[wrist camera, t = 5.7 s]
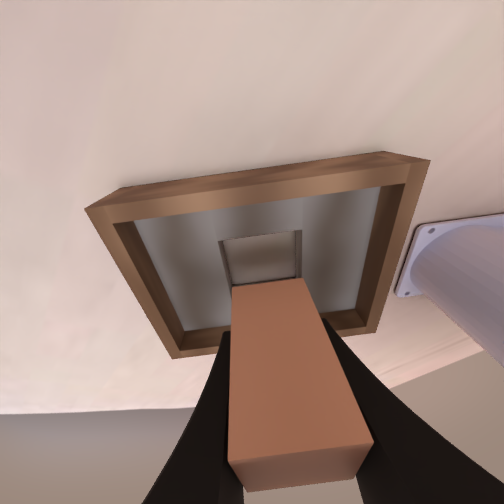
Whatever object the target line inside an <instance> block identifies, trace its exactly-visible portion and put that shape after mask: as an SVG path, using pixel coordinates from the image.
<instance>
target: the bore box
mask: <svg viewBox="0 0 504 504" xmlns="http://www.w3.org/2000/svg"><path fill="white" fill-rule="evenodd" d="M430 161H431V160H426V159H421V158H416V157H411V156H406V155H401V154H396V153H391V152H386V151H381V152H373V153H366V154H359V155H352V156H345V157H338V158H331V159H324V160H316V161H309V162H302V163H295V164H288V165H281V166H274V167H267V168H259V169H252V170H245V171H238V172H231V173H224V174H217V175H210V176H202V177H195V178H188V179H181V180H174V181H167V182H160V183H153V184H146V185H138V186H131V187H124V188H120V189H118V190H116V191H114V192H113V193H111V194H109V195H107V196H106V197H104V198H102V199H100V200H99V201H97V202H95V203H93V204H91V205H90V206H88V207H86V208H84V210H85V211H86V213H87V215H88V216H89V218H90V220H91V222H92V223H93V225H94V227H95V228H96V230H97V232H98V234H99V235H100V237H101V239H102V240H103V242H104V244H105V246H106V247H107V249H108V251H109V252H110V254H111V256H112V257H113V259H114V261H115V263H116V264H117V266H118V268H119V269H120V271H121V273H122V275H123V276H124V278H125V280H126V281H127V283H128V285H129V287H130V288H131V290H132V292H133V293H134V295H135V297H136V298H137V300H138V302H139V304H140V305H141V307H142V309H143V310H144V312H145V314H146V316H147V317H148V319H149V321H150V322H151V324H152V326H153V328H154V329H155V331H156V333H157V334H158V336H159V338H160V339H161V341H162V343H163V345H164V346H165V348H166V350H167V351H168V353H169V355H170V357H171V358H172V359H178V358H186V357H193V356H201V355H209V354H216V353H217V352H218V349H219V345H220V342H221V338H222V333H223V332H224V331H231V308H232V287H239V286H246V285H253V284H261V283H268V282H275V281H282V280H290V279H297V278H303V279H304V281H305V283H306V286H307V288H308V290H309V293H310V295H311V297H312V300H313V302H314V304H315V306H316V309H317V311H318V313H319V316H320V318H325V319H327V321H328V322H329V323H330V325H331V326H332V327H333V329H334V330H335V331H336V332H337V334H338V335H339V336H340V337H346V336H354V335H361V334H369V333H376V330H377V327H378V324H379V320H380V317H381V314H382V311H383V308H384V305H385V302H386V299H387V295H388V292H389V289H390V286H391V283H392V280H393V277H394V274H395V270H396V267H397V264H398V261H399V258H400V255H401V252H402V249H403V245H404V242H405V239H406V236H407V233H408V230H409V227H410V224H411V220H412V217H413V214H414V211H415V208H416V205H417V202H418V199H419V195H420V192H421V189H422V186H423V183H424V180H425V177H426V174H427V170H428V167H429V164H430ZM294 230H296V277H295V278H288V279H280V280H273V281H265V282H258V283H250V284H243V285H235V286H232V282H231V277H230V273H229V268H228V264H227V260H226V255H225V251H224V247H223V242H222V240H228V239H236V238H243V237H250V236H258V235H265V234H272V233H280V232H287V231H294Z"/></svg>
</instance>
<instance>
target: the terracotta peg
mask: <svg viewBox="0 0 504 504" xmlns="http://www.w3.org/2000/svg"><path fill="white" fill-rule="evenodd" d="M373 443H374V441H373V439H372V436H371V434H370V432H369V429H368V427H367V425H366V422H365V420H364V418H363V415H362V413H361V411H360V409H359V406H358V404H357V402H356V399H355V397H354V395H353V392H352V390H351V388H350V385H349V383H348V381H347V378H346V376H345V374H344V371H343V369H342V367H341V364H340V362H339V360H338V357H337V355H336V353H335V351H334V348H333V346H332V344H331V341H330V339H329V337H328V334H327V332H326V330H325V327H324V325H323V323H322V320H321V318H320V316H319V313H318V311H317V309H316V306H315V304H314V302H313V300H312V297H311V295H310V293H309V290H308V288H307V286H306V283H305V281H304V279H303V278H297V279H290V280H282V281H275V282H268V283H261V284H253V285H246V286H239V287H232V308H231V349H230V389H229V430H228V462H229V464H230V466H231V467H232V469H233V470H234V472H235V474H236V475H237V477H238V478H239V480H240V482H241V483H242V485H243V486H244V488H245V489H246V491H247V492H255V491H263V490H271V489H278V488H286V487H294V486H302V485H310V484H318V483H326V482H334V481H341V480H349V479H353V478H354V477H355V475H356V473H357V471H358V470H359V468H360V466H361V464H362V463H363V461H364V459H365V457H366V456H367V454H368V452H369V450H370V449H371V447H372V445H373Z"/></svg>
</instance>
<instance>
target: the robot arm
mask: <svg viewBox="0 0 504 504" xmlns="http://www.w3.org/2000/svg"><path fill="white" fill-rule="evenodd" d="M423 294H424V295H425V296H426V297H427V298H429V299H430V300H431V301H432V302H433V303H434V304H435V305H436V306H437V307H438V308H439V309H441V310H442V311H443V312H444V313H445V314H446V315H447V316H448V317H449V318H450V319H451V320H453V321H454V322H455V323H456V324H457V325H458V326H459V327H460V328H461V329H462V330H463V331H464V332H466V333H467V334H468V335H469V336H470V337H471V338H472V339H473V340H474V341H475V342H476V343H478V344H479V345H480V346H481V347H482V348H483V349H484V350H485V351H486V352H488V353H489V354H490V355H491V356H492V357H493V358H494V359H495V360H496V361H497V362H498V363H499V364H501V366H503V367H504V214H497V215H490V216H482V217H475V218H467V219H460V220H453V221H445V222H438V223H431V224H424V225H421V226H419V227H418V228H417V230H416V232H415V235H414V238H413V241H412V244H411V247H410V250H409V253H408V256H407V259H406V262H405V265H404V267H403V270H402V273H401V276H400V279H399V282H398V285H397V288H396V291H395V295H396V296H397V297H408V296H416V295H423ZM321 320H322V323H323V325H324V327H325V330H326V332H327V334H328V337H329V339H330V341H331V344H332V346H333V348H334V351H335V353H336V355H337V357H338V360H339V362H340V364H341V367H342V369H343V371H344V374H345V376H346V378H347V381H348V383H349V385H350V388H351V390H352V392H353V395H354V397H355V399H356V402H357V404H358V406H359V409H360V411H361V413H362V415H363V418H364V420H365V422H366V425H367V427H368V429H369V432H370V434H371V436H372V439H373V441H374V443H373V445H372V447H371V449H370V450H369V452H368V454H367V456H366V457H365V459H364V461H363V463H362V464H361V466H360V468H359V470H358V471H357V473H356V478H357V481H358V485H359V489H360V492H361V496H362V499H363V503H364V504H504V483H502V482H501V481H499V480H498V479H497V478H495V477H494V476H493V475H491V474H490V473H489V472H487V471H486V470H485V469H483V468H482V467H481V466H480V465H478V464H477V463H476V462H474V461H473V460H471V459H470V458H469V457H468V456H466V455H465V454H464V453H463V452H461V451H460V450H459V449H457V448H456V447H455V446H454V445H452V444H451V443H450V442H449V441H447V440H446V439H445V438H444V437H443V436H441V435H440V434H439V433H438V432H436V431H435V430H434V429H433V428H432V427H431V426H429V425H428V424H427V423H426V422H425V421H423V420H422V419H421V418H420V417H419V416H418V415H416V414H415V413H414V412H413V411H412V410H411V409H410V408H408V407H407V406H406V405H405V404H404V403H403V402H402V401H401V400H399V399H398V398H397V397H396V396H395V395H394V394H393V393H392V392H391V391H390V390H389V389H388V388H387V387H386V386H385V385H384V384H383V383H382V382H381V381H380V380H379V379H378V378H377V377H376V376H375V375H374V374H373V373H372V372H371V371H370V370H369V369H368V368H367V367H366V366H365V365H364V364H363V363H362V362H361V360H360V359H359V358H358V357H357V356H356V355H355V354H354V353H353V351H352V350H351V349H350V348H349V347H348V346H347V345H346V343H345V342H344V341H343V340H342V339H341V337H340V336H339V335H338V334H337V332H336V331H335V330H334V329H333V327H332V326H331V325H330V323H329V322H328V321H327V319H325V318H321ZM230 349H231V331H224V332H223V333H222V338H221V342H220V345H219V349H218V352H217V355H216V358H215V361H214V364H213V366H212V369H211V372H210V375H209V377H208V380H207V382H206V384H205V387H204V389H203V392H202V394H201V396H200V399H199V401H198V403H197V405H196V407H195V410H194V412H193V414H192V416H191V418H190V420H189V422H188V424H187V426H186V428H185V430H184V432H183V434H182V436H181V437H180V439H179V441H178V443H177V445H176V447H175V449H174V450H173V452H172V455H171V456H170V458H169V459H168V461H167V463H166V465H165V466H164V468H163V470H162V471H161V473H160V475H159V476H158V478H157V480H156V482H155V483H154V485H153V486H152V488H151V490H150V491H149V493H148V495H147V496H146V498H145V499H144V501H143V503H142V504H244V499H243V498H244V496H243V485H242V483H241V482H240V480H239V478H238V477H237V475H236V474H235V472H234V470H233V469H232V467H231V466H230V464H229V462H228V430H229V389H230Z"/></svg>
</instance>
